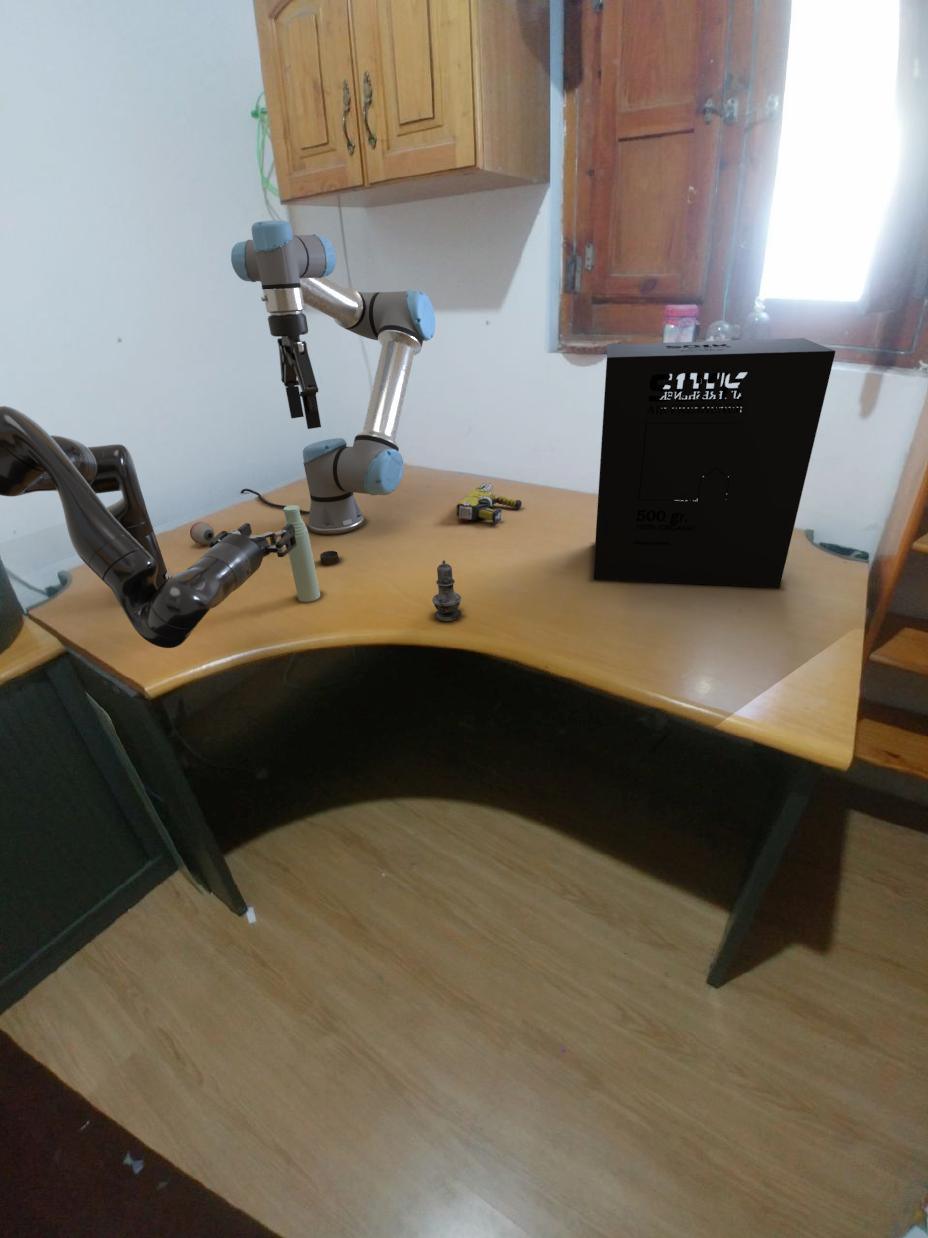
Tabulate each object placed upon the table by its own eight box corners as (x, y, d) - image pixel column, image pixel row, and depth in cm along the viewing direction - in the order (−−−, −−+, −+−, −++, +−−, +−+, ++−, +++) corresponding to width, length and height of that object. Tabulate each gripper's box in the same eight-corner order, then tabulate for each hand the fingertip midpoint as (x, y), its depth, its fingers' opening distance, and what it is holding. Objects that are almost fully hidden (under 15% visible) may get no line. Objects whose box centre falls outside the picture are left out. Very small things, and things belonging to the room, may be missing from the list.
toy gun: (529, 487, 179) (482, 480, 183) (508, 512, 159) (455, 503, 163) (528, 503, 181) (481, 495, 185) (506, 528, 161) (454, 519, 165)
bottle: (315, 589, 135) (297, 501, 125) (323, 597, 132) (306, 507, 121) (295, 596, 133) (275, 507, 123) (303, 604, 129) (284, 513, 119)
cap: (326, 557, 150) (324, 550, 149) (342, 558, 149) (340, 551, 148) (318, 564, 147) (316, 557, 146) (334, 566, 146) (332, 558, 145)
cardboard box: (759, 548, 141) (803, 338, 119) (779, 587, 124) (835, 350, 102) (595, 543, 149) (607, 344, 126) (593, 579, 132) (607, 357, 109)
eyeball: (203, 550, 158) (197, 528, 155) (188, 545, 161) (182, 524, 158) (222, 541, 162) (216, 520, 159) (207, 538, 166) (201, 517, 163)
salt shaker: (459, 622, 119) (455, 567, 113) (430, 620, 120) (425, 566, 114) (464, 608, 124) (461, 554, 118) (437, 606, 125) (432, 553, 119)
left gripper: (264, 544, 97) (302, 509, 110) (182, 543, 99) (230, 508, 113) (273, 585, 100) (309, 546, 114) (195, 583, 103) (239, 546, 116)
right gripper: (254, 313, 129) (275, 415, 139) (282, 316, 109) (304, 435, 120) (289, 310, 132) (306, 411, 142) (322, 313, 112) (340, 429, 123)
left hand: (270, 528), depth 113 cm, fingers open, 8 cm apart
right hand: (305, 422), depth 131 cm, fingers open, 13 cm apart
